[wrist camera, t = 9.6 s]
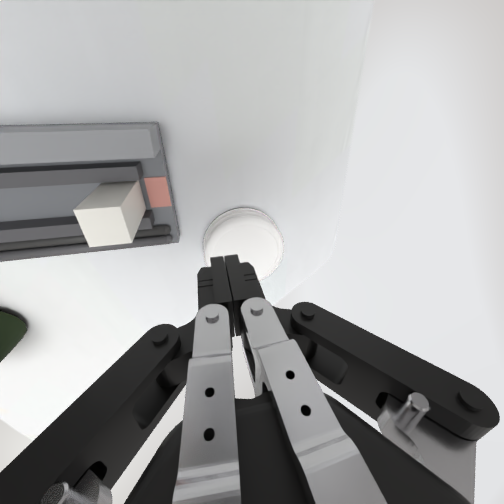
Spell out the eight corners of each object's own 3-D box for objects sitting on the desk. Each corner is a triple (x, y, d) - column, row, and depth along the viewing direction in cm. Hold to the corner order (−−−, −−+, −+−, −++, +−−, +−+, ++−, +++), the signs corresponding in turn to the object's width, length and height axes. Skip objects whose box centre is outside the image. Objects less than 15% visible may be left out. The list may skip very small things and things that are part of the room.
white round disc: (243, 189, 28) (249, 200, 25) (291, 238, 33) (300, 252, 30) (186, 244, 30) (186, 260, 27) (239, 282, 35) (243, 299, 33)
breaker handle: (103, 180, 22) (73, 210, 16) (138, 178, 22) (120, 206, 17) (114, 210, 24) (89, 247, 18) (146, 208, 24) (131, 242, 18)
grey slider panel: (-105, 127, 19) (-210, 137, 14) (158, 122, 22) (148, 129, 17) (-13, 253, 25) (-62, 290, 20) (179, 234, 29) (177, 262, 24)
